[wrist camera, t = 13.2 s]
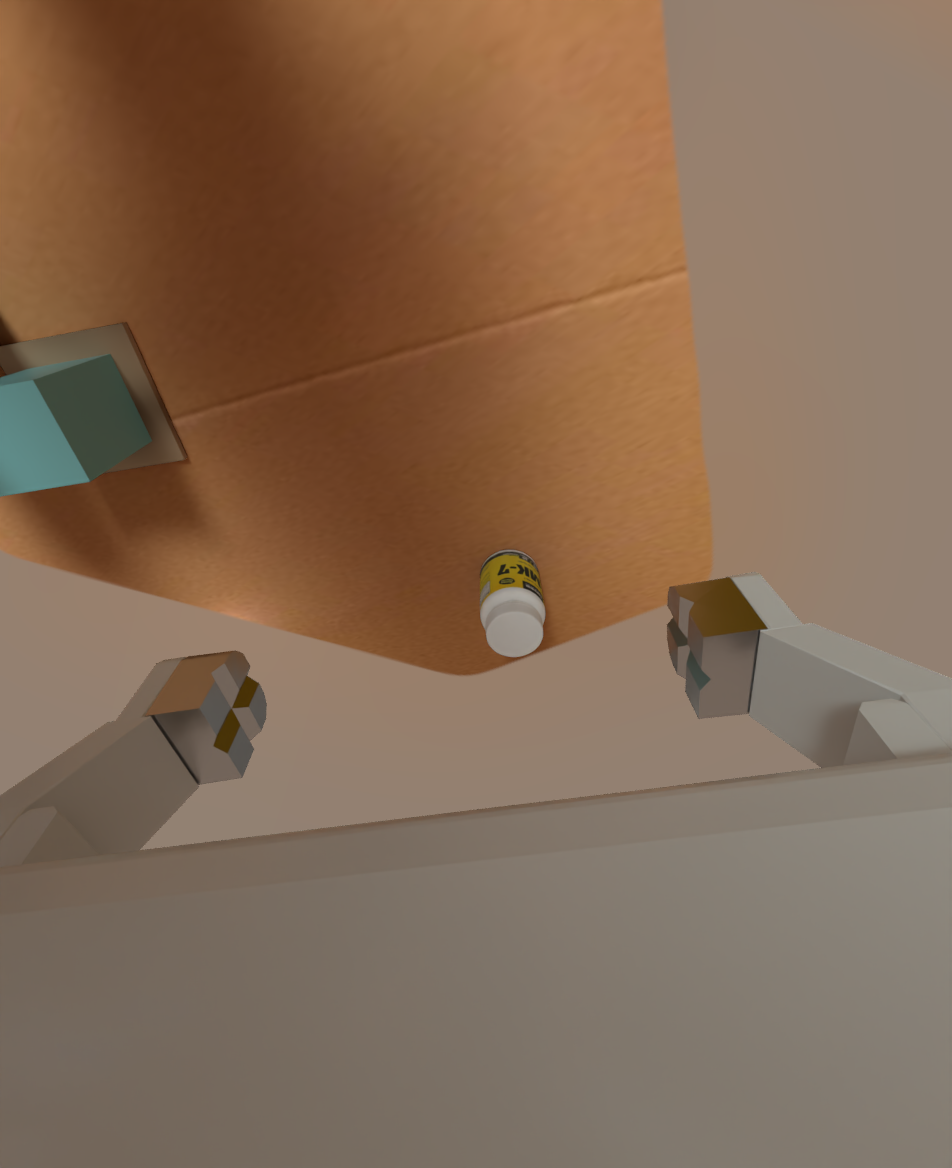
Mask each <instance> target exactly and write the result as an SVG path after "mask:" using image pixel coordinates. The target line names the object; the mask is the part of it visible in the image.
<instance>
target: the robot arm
mask: <svg viewBox="0 0 952 1168" xmlns="http://www.w3.org/2000/svg"><path fill="white" fill-rule="evenodd" d="M667 606H668V608H669V609H670V611H671V613H672V615H673V618H672V619H671V621H670V622H669V623H668V624H667V641H668V647H669V653H670V656H671V660H672V663H673V666H674V668H675V670H676V672H677V674H678V675H680V676H681V677H683V678H685V679H686V691H685V692H686V694H687V696H688V698H689V700H690V702H691V704H692V706H693V708H694V710H695V712H696V714H697V717H698V718H699V719H700V718H710V717H721V716H730V715H740V714H749V716H750V717H751V718H753V719H754V720H756V721H757V722H758V723H760V724H761V725H762V726H764V727H765V728H767V729H768V730H769V731H771V732H772V733H774V734H775V735H776V736H778V737H779V738H781V739H782V740H783V741H785V742H786V743H788V744H789V745H791V746H792V747H793V748H795V749H796V750H797V751H799V752H800V753H802V754H803V755H804V756H806V757H807V758H809V759H810V760H811V761H813V762H814V763H816V764H817V765H818V766H820V767H821V768H819V769H818V768H817V769H809V770H801V771H792V772H785V773H776V774H768V775H759V776H751V777H743V778H735V779H727V780H719V781H711V782H703V783H694V784H686V785H678V786H670V787H663V788H654V789H646V790H638V791H629V792H620V793H612V794H603V795H596V796H587V797H578V798H569V799H562V800H552V801H544V802H536V803H528V804H519V805H511V806H503V807H494V808H485V809H477V810H469V811H460V812H452V813H444V814H435V815H427V816H419V817H411V818H403V819H394V820H387V821H378V822H370V823H362V824H354V825H345V826H337V827H328V828H320V829H312V830H304V831H296V832H287V833H279V834H270V835H262V836H254V837H246V838H238V839H230V840H221V841H213V842H205V843H196V844H188V845H179V846H171V847H163V848H155V849H147V850H140V849H141V848H142V847H143V846H144V845H145V844H146V843H147V841H149V840H150V838H151V837H152V836H153V835H154V834H155V833H156V832H157V831H158V830H159V829H160V828H161V827H162V826H163V824H165V823H166V821H167V820H168V819H169V818H170V817H171V816H172V815H173V814H174V813H175V812H176V811H177V810H178V809H179V808H180V807H181V806H182V804H183V803H184V802H185V801H186V800H187V799H188V798H189V797H190V796H191V795H192V794H193V793H194V792H195V791H196V790H197V789H198V787H199V786H198V785H200V784H206V783H212V782H218V781H225V780H231V779H237V778H242V777H243V775H244V772H245V770H246V767H247V765H248V762H249V760H250V758H251V755H252V753H253V750H254V748H253V746H252V744H251V742H250V740H252V739H253V738H254V737H255V736H256V735H257V734H258V733H259V732H261V730H262V728H263V725H264V722H265V720H266V706H267V705H266V699H265V695H264V692H263V690H262V688H261V686H260V684H259V683H258V682H256V681H254V680H253V679H251V678H250V677H248V676H247V675H248V672H249V669H250V665H249V663H248V661H247V660H246V658H245V656H244V654H243V653H241V652H238V651H228V652H220V653H213V654H204V655H197V656H188V657H182V658H175V659H168V660H163V661H161V662H159V663H156V665H155V666H154V668H153V669H152V671H151V672H150V673H149V675H148V676H147V677H146V679H145V680H144V682H143V683H142V684H141V686H140V688H139V689H138V690H137V692H136V693H135V694H134V696H133V697H132V698H131V700H130V701H129V703H128V704H127V706H126V707H125V708H124V710H123V711H122V712H121V714H120V715H119V717H118V718H117V720H116V721H112V722H107V723H106V724H104V725H103V726H101V727H100V728H98V729H97V730H95V731H94V732H92V733H91V734H90V735H88V736H87V737H85V738H84V739H82V740H81V741H79V742H78V743H76V744H75V745H74V746H72V747H70V748H69V749H67V750H66V751H65V752H63V753H62V754H60V755H59V756H57V757H56V758H54V759H53V760H52V761H50V762H48V763H47V764H45V765H44V766H43V767H41V768H40V769H38V770H37V771H35V772H34V773H32V774H31V775H29V776H28V777H26V778H25V779H24V780H22V781H21V782H19V783H18V784H17V785H15V786H13V787H12V788H10V789H9V790H7V791H6V792H4V793H3V794H1V795H0V1168H952V679H951V678H949V677H946V676H944V675H941V674H939V673H936V672H933V671H931V670H928V669H926V668H924V667H921V666H918V665H916V664H914V663H911V662H908V661H906V660H903V659H901V658H898V657H896V656H893V655H890V654H888V653H886V652H883V651H881V650H878V649H876V648H873V647H871V646H868V645H866V644H863V643H861V642H858V641H855V640H853V639H850V638H848V637H846V636H843V635H840V634H838V633H835V632H833V631H830V630H828V629H825V628H823V627H820V626H818V625H815V624H813V623H810V624H802V623H801V621H800V620H799V619H798V618H797V617H796V615H795V614H794V613H793V612H792V611H791V610H790V609H789V607H788V606H787V605H786V604H785V603H784V602H783V600H782V599H781V598H780V597H779V596H778V595H777V593H776V592H775V591H774V590H773V589H772V588H771V586H770V585H769V584H768V583H767V582H766V581H765V579H763V577H762V576H761V575H760V574H759V573H756V572H751V573H745V574H740V575H735V576H729V577H726V578H722V579H715V580H709V581H702V582H696V583H690V584H683V585H677V586H671V587H669V591H668V603H667Z"/></svg>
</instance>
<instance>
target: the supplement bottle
mask: <svg viewBox="0 0 952 1168" xmlns="http://www.w3.org/2000/svg"><path fill="white" fill-rule="evenodd" d="M545 615H546V612H545V605H544V599H543V594H542V588H541V583H540V577H539V571H538V568H537V566H536V564H535V562H534V561H533V559H532V558H531V557H530V556H528V555H527V554H525V553H523V552H521V551H517V550H502V551H499V552H496V553H494V554H493V555H491V556H490V557H489V558H487V559H486V561H485V562H484V564H483V565H482V568H481V571H480V618H481V622H482V625H483V627H484V629H485V630H486V639H487V642H488V644H489V646H490V647H491V648H492V649H493V650H494V651H495V652H497V653H499V654H500V655H503V656H507V657H520V656H524V655H527V654H529V653H531V652H533V651H534V650H535V649H536V648H537V647H538V646H539V645H540V643H541V641H542V639H543V624H544V621H545Z"/></svg>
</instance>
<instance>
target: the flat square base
mask: <svg viewBox="0 0 952 1168" xmlns="http://www.w3.org/2000/svg"><path fill="white" fill-rule="evenodd" d="M106 354H111V356H112V358H113V360H114V362H115V365H116V367H117V369H118V371H119V373H120V375H121V377H122V379H123V381H124V383H125V385H126V387H127V389H128V392H129V394H130V396H131V398H132V400H133V402H134V404H135V406H136V408H137V410H138V412H139V414H140V417H141V419H142V421H143V423H144V425H145V427H146V429H147V431H148V433H149V435H150V437H151V439H152V441H151V442H150V443H148V444H147V445H145V446H144V447H142V448H141V449H139V450H138V451H136V452H135V453H133V454H132V455H130V456H129V457H127V458H126V459H124V460H123V461H121V462H119V463H118V464H116V465H115V466H113V467H112V468H110V469H109V470H107V471H106V472H104V473H109V472H115V471H121V470H127V469H133V468H139V467H145V466H151V465H157V464H163V463H169V462H175V461H181V460H185V459H186V458H188V457H187V455H186V453H185V451H184V449H183V446H182V444H181V442H180V440H179V438H178V435H177V433H176V431H175V429H174V427H173V424H172V422H171V420H170V418H169V416H168V413H167V411H166V409H165V407H164V405H163V402H162V400H161V398H160V396H159V394H158V391H157V389H156V387H155V385H154V383H153V380H152V378H151V376H150V374H149V372H148V369H147V367H146V365H145V363H144V361H143V358H142V356H141V354H140V352H139V350H138V347H137V345H136V343H135V341H134V339H133V336H132V334H131V332H130V330H129V328H128V325H127V323H126V322H125V323H120V324H115V325H109V326H104V327H99V328H93V329H88V330H83V331H78V332H72V333H67V334H62V335H56V336H51V337H46V338H40V339H35V340H30V341H25V342H19V343H14V344H9V345H3V346H0V365H1V367H2V369H3V371H4V372H5V374H6V375H9V374H13V373H16V372H19V371H22V370H25V369H30V368H35V367H41V366H46V365H51V364H57V363H62V362H68V361H73V360H79V359H84V358H89V357H95V356H100V355H106Z"/></svg>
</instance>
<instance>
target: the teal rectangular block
mask: <svg viewBox="0 0 952 1168" xmlns="http://www.w3.org/2000/svg"><path fill="white" fill-rule="evenodd" d="M151 441H152V439H151V437H150V435H149V433H148V431H147V429H146V427H145V425H144V423H143V421H142V419H141V417H140V414H139V412H138V410H137V408H136V406H135V404H134V402H133V400H132V398H131V396H130V394H129V392H128V389H127V387H126V385H125V383H124V381H123V379H122V377H121V375H120V373H119V371H118V369H117V367H116V365H115V362H114V360H113V358H112V356H111V354H106V355H100V356H95V357H89V358H84V359H79V360H73V361H68V362H62V363H57V364H51V365H46V366H41V367H35V368H30V369H25V370H22V371H19V372H16V373H13V374H9V375H6V376H3V377H0V496H6V495H13V494H19V493H25V492H31V491H37V490H43V489H49V488H55V487H61V486H67V485H73V484H79V483H85V482H91V481H92V480H94V479H95V478H97V477H98V476H100V475H101V474H103V473H104V472H106V471H107V470H109V469H110V468H112V467H113V466H115V465H116V464H118V463H119V462H121V461H123V460H124V459H126V458H127V457H129V456H130V455H132V454H133V453H135V452H136V451H138V450H139V449H141V448H142V447H144V446H145V445H147V444H148V443H150V442H151Z"/></svg>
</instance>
